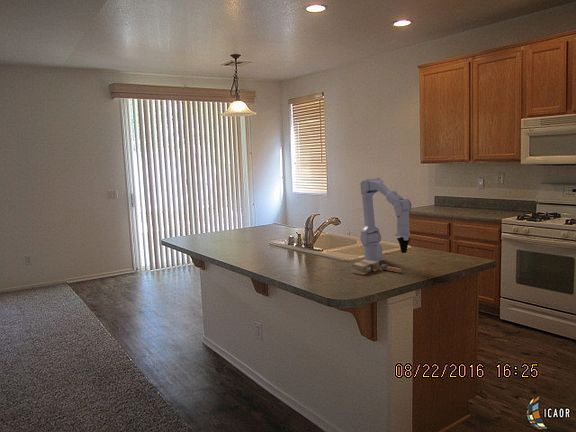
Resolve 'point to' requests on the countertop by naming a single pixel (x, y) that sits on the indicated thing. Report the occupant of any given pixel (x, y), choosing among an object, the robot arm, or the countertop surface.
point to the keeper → (391, 268)
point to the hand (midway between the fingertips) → (403, 252)
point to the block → (365, 266)
